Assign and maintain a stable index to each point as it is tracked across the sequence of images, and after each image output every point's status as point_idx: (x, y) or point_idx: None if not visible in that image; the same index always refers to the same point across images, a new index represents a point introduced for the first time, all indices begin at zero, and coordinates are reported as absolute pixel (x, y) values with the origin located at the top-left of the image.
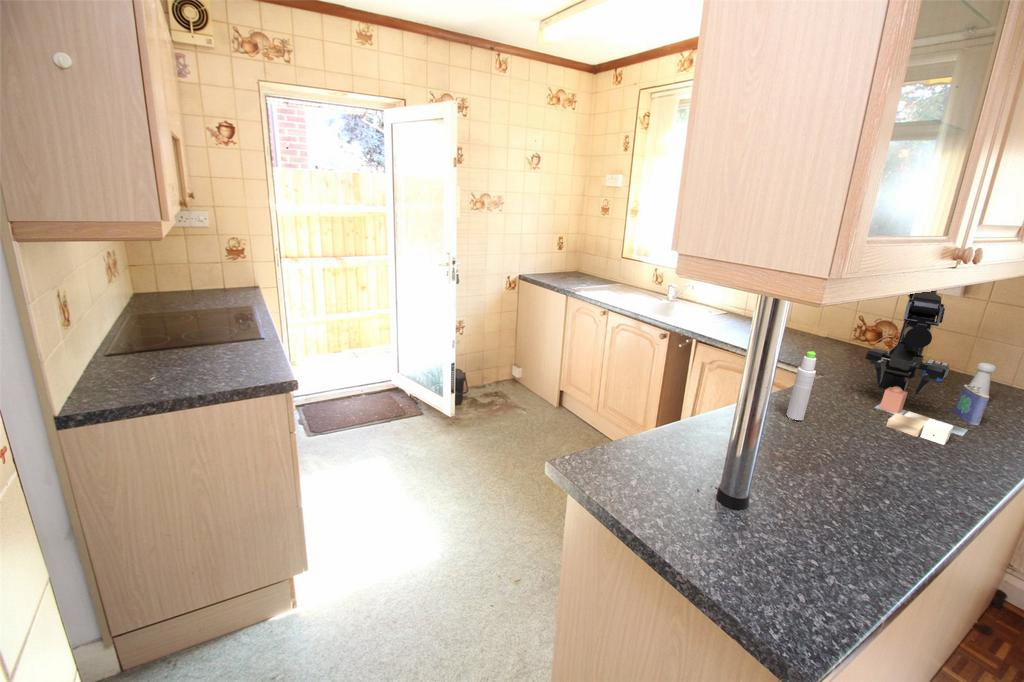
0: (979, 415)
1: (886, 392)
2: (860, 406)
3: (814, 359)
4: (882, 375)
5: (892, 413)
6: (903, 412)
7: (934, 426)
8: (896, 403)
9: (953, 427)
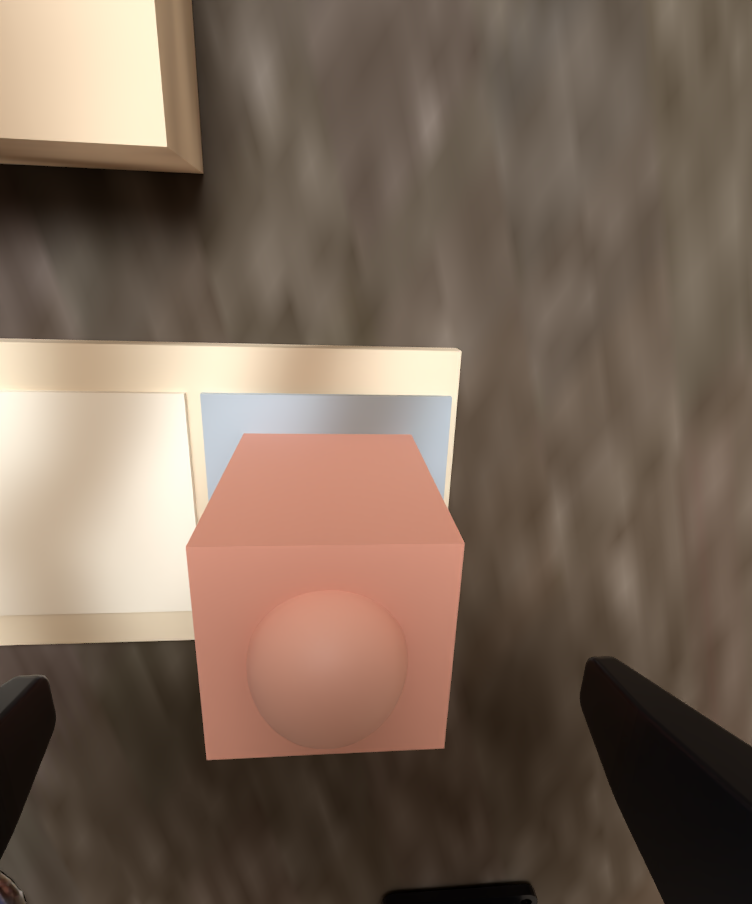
0: None
1: (430, 524)
2: (559, 371)
3: None
4: (680, 868)
5: (278, 396)
6: None
7: None
8: (268, 476)
9: None
